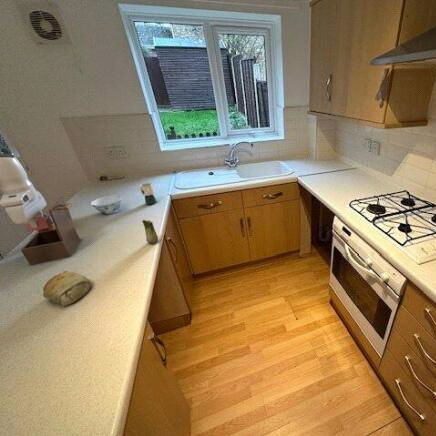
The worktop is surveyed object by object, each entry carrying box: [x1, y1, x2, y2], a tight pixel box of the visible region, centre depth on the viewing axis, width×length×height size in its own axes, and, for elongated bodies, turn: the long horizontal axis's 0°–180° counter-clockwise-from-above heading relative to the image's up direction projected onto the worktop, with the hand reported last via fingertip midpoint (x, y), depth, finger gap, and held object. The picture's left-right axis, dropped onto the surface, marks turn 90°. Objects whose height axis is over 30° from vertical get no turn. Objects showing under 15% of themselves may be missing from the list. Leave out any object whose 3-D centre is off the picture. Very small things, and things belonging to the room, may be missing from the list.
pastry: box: [42, 270, 91, 307], centre depth 85 cm, size 14×12×8 cm
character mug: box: [139, 182, 157, 205], centre depth 155 cm, size 11×7×13 cm, turn 37°
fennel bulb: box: [141, 219, 159, 245], centre depth 113 cm, size 6×5×12 cm
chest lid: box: [48, 196, 75, 241], centre depth 106 cm, size 14×16×4 cm
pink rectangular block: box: [23, 215, 54, 232], centre depth 103 cm, size 7×4×4 cm, turn 115°
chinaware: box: [90, 195, 123, 215], centre depth 145 cm, size 15×15×8 cm
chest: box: [20, 225, 81, 266], centre depth 108 cm, size 14×16×8 cm
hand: (38, 223), depth 103 cm, fingers closed on pink rectangular block, 4 cm apart
